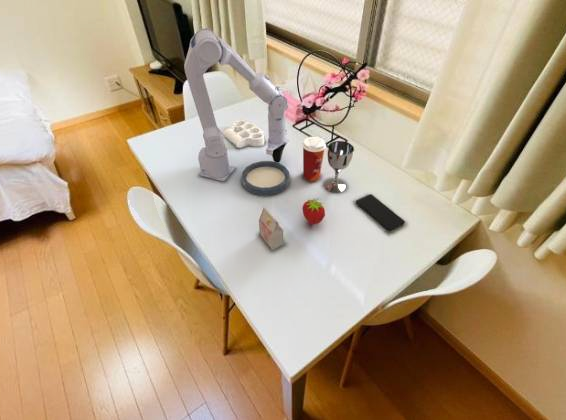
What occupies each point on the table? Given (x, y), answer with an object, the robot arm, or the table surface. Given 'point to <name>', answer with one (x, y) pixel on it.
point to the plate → (265, 178)
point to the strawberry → (313, 211)
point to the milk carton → (270, 230)
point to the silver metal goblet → (338, 163)
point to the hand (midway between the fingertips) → (277, 161)
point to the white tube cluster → (244, 134)
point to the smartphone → (380, 212)
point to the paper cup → (312, 157)
